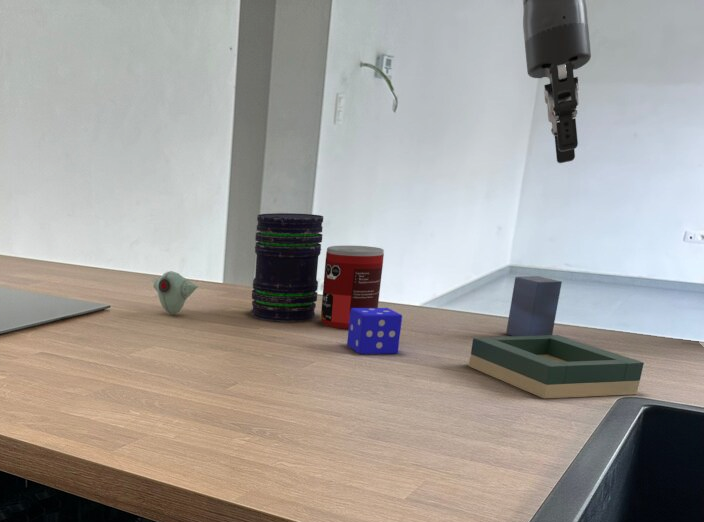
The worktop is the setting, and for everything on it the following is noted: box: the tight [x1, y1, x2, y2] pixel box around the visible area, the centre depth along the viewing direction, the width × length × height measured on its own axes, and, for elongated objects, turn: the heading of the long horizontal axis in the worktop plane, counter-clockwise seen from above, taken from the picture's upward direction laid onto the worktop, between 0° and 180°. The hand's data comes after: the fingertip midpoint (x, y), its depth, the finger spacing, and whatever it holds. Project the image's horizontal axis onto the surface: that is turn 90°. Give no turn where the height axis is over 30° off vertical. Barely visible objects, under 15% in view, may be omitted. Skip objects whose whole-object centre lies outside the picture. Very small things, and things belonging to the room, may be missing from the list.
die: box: [346, 307, 403, 355], centre depth 110 cm, size 5×5×5 cm
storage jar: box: [251, 212, 324, 323], centre depth 130 cm, size 10×10×15 cm
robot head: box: [152, 270, 199, 316], centre depth 132 cm, size 8×4×7 cm, turn 46°
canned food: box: [320, 245, 385, 330], centre depth 124 cm, size 8×8×11 cm
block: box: [505, 275, 563, 337], centre depth 117 cm, size 4×5×8 cm
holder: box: [468, 334, 645, 400], centre depth 96 cm, size 11×14×4 cm
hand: (567, 156), depth 115 cm, fingers open, 8 cm apart
